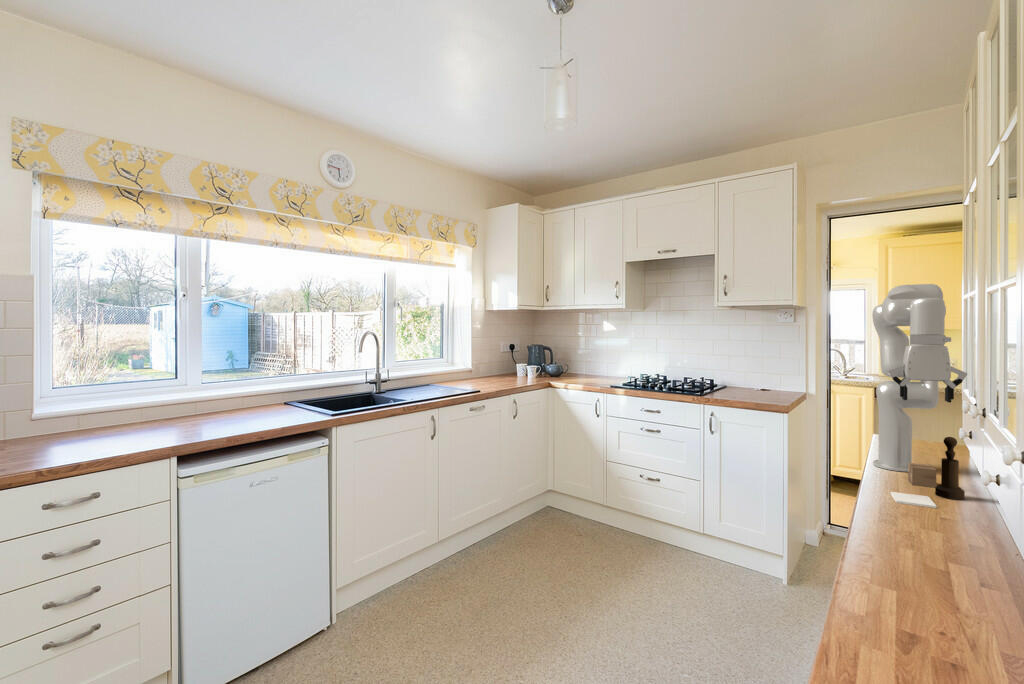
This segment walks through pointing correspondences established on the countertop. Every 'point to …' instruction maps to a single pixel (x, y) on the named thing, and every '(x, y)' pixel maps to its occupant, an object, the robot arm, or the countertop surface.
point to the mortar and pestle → (950, 474)
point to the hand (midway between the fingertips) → (925, 400)
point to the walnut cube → (922, 475)
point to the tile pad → (913, 499)
